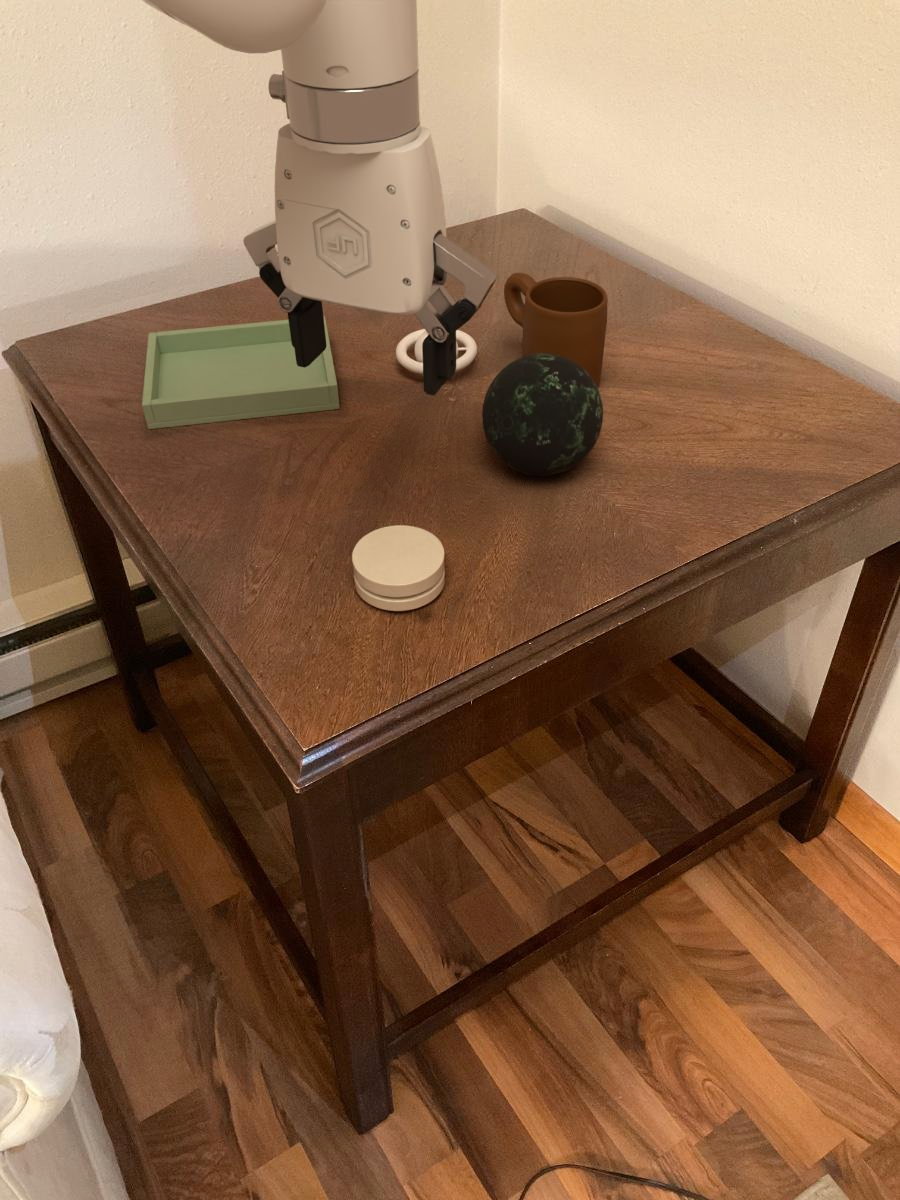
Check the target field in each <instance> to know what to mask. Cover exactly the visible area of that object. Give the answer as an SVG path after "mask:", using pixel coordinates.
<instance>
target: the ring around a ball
mask: <svg viewBox="0 0 900 1200" xmlns="http://www.w3.org/2000/svg"><path fill="white" fill-rule="evenodd" d="M428 335H429V334H428V332H427V331H426V330H425V328H421V329H419V330H415V331H412V332H410V333H409V334H407V335H405V336H404V337H403V338H402V339H401V340H400V341H399V342H398V343H397V346H396V349H395V357H396V361H398V363H399V364H400V365H401V366H402V367H403V368H405V369H406V370H408V371H410V372H413V373H415V374H419V375H423V353H422V344H423V341H424V339H425V338H426V337H427V336H428ZM458 343H460V344H462V345H464V346H463V347H459V345H458ZM413 345H414V357H415V359H413V358H411V357H410V356H409V355H408V353H407V352H408V350H409V348H410V347H412V346H413ZM459 351H461V352H462V351H465V353H464V354H463V355H462V356H460V357H459ZM477 354H478V345H477V342H476V340H475V339H474V338H473V337H472V336H471V335H469V334H468V333H467V332H464V331H462V330H460V329H458V330H456V370H455V373H456V372H459V371H461V370H463V369H465V368H466V367H468V366H469V365H470V364H472V363H473V362H474V360H475V359H476V357H477Z"/></svg>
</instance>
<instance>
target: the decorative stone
mask: <svg viewBox="0 0 900 1200" xmlns="http://www.w3.org/2000/svg"><path fill="white" fill-rule="evenodd" d="M481 411H482V412H481V419H482V420H481V421H482V428H483V432H484V436H485V438H486V440H487V443H488V445H489V446H490V448H491V450H492V451H493V452H494V454H495V455H496V456H497V458H499V459H500V460H501V461H502V462H503V463H504V464H506V465H507V466H508V467H510V468H512V469H513V470H516V471H517V472H519V473H523V474H524V475H525V474H526V475H529V476H537V477H540V476H541V477H546V476H547V477H548V476H553V475H556V474H560V473H563V472H566V471H569V470H571V469H572V468H574V467H576V466H577V465H578V464H580V463H581V462H582V461H583V460H584V459H585V458H586V457H587V456H588V455H589V454H590V452H591V451H592V450H593V448H594V446H595V445H596V443H597V441H598V439H599V437H600V434H601V430H602V427H603V419H604V405H603V400H602V397H601V393H600V390H599V387H598V388H597V386H596V384H595V382H594V381H593V379H592V378H591V377H590V375H589V374H588V373H587V372H586V371H585V370H584V369H583V368H582V367H581V366H580V365H578V364H577V363H575V362H574V361H572V360H570V359H568V358H565V357H563V356H559V355H555V354H546V353H539V354H532V355H528V356H525V357H522V356H521V357H519V358H517V359H516V360H514V361H512V362H510V363H509V364H507V365H506V366H505V367H503V368H501V370H500V371H499V372H498V373H497V374H496V376H495V377H494V378H493V380H492V381H491V382H490V384H489V386H488V388H487V390H486V392H485V395H484V399H483V402H482V408H481Z"/></svg>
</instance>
